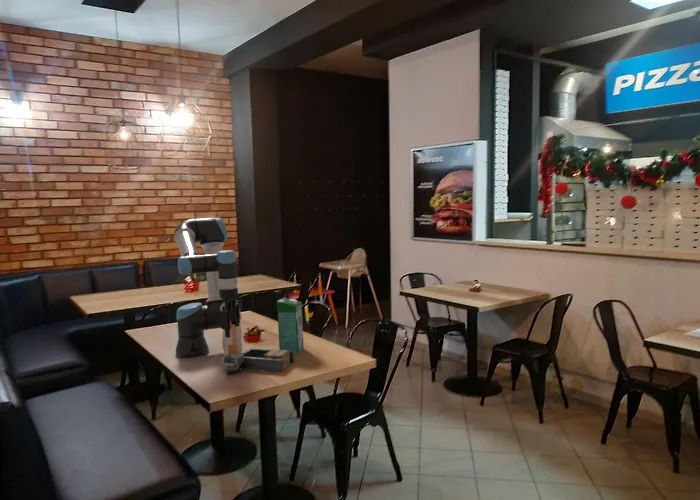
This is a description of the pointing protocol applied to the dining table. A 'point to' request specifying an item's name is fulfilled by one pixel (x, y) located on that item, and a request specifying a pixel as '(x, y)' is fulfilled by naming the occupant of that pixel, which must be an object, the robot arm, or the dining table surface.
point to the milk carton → (290, 325)
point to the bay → (263, 360)
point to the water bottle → (238, 344)
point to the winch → (232, 364)
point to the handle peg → (232, 348)
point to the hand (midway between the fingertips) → (232, 342)
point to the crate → (279, 356)
